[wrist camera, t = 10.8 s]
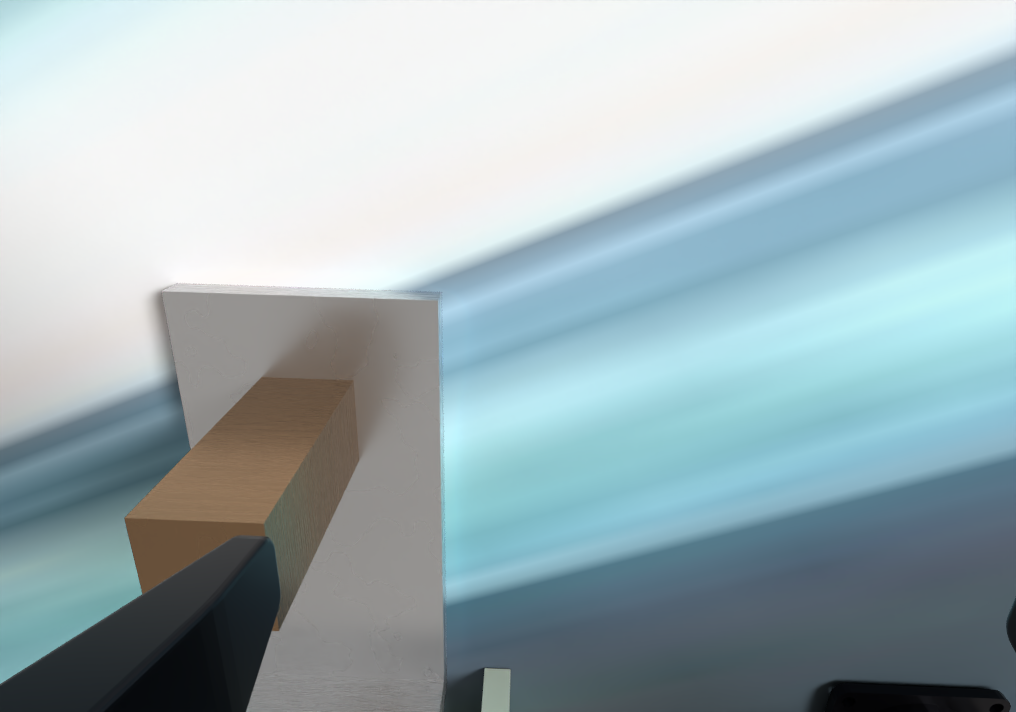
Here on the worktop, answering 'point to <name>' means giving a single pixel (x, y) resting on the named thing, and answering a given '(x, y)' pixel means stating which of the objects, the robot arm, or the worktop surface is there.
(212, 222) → the worktop surface
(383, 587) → the metal bookend
